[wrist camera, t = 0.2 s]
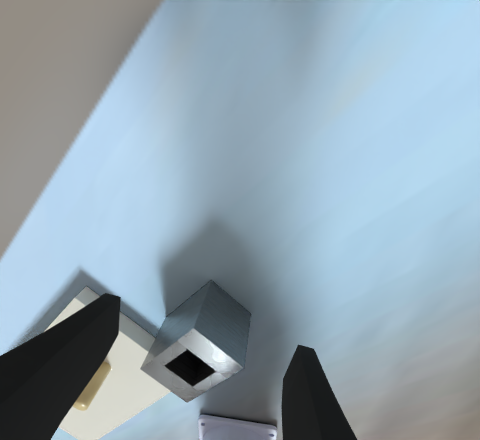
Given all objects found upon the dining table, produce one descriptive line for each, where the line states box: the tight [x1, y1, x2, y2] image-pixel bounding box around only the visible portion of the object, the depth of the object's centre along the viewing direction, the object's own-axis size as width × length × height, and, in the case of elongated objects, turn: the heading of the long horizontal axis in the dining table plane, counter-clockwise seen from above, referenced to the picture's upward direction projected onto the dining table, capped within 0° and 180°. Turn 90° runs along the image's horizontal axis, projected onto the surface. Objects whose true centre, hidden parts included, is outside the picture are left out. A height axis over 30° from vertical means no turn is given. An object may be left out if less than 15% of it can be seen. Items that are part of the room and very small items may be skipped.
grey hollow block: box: [140, 280, 251, 403], centre depth 21 cm, size 6×4×5 cm
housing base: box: [44, 286, 171, 440], centre depth 26 cm, size 18×12×5 cm, turn 136°
